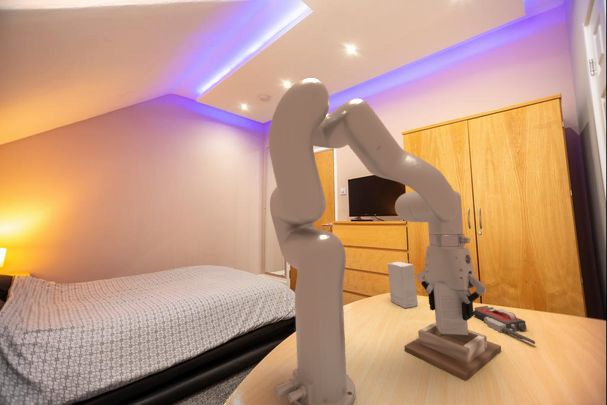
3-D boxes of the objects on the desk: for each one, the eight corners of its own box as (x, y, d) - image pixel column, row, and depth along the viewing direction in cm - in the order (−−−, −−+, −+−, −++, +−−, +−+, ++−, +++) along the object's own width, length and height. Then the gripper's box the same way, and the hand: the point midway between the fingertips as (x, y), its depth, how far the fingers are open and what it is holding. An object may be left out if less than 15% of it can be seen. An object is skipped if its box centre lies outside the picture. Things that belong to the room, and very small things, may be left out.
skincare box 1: (418, 306, 90) (415, 264, 91) (404, 309, 89) (401, 266, 89) (402, 299, 98) (400, 260, 99) (389, 301, 97) (387, 262, 97)
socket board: (466, 380, 51) (464, 359, 51) (404, 350, 63) (403, 333, 63) (501, 350, 61) (500, 333, 61) (442, 329, 73) (441, 314, 73)
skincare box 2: (461, 327, 64) (458, 279, 64) (468, 335, 59) (465, 284, 60) (435, 326, 65) (432, 279, 65) (440, 334, 61) (437, 283, 61)
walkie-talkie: (464, 316, 82) (531, 349, 62) (463, 302, 82) (530, 330, 62) (487, 313, 83) (559, 344, 64) (486, 300, 83) (558, 326, 64)
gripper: (493, 242, 58) (498, 321, 57) (421, 237, 72) (425, 300, 72) (478, 245, 54) (484, 331, 53) (405, 239, 68) (409, 307, 67)
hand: (450, 313), depth 62 cm, fingers closed on skincare box 2, 7 cm apart
